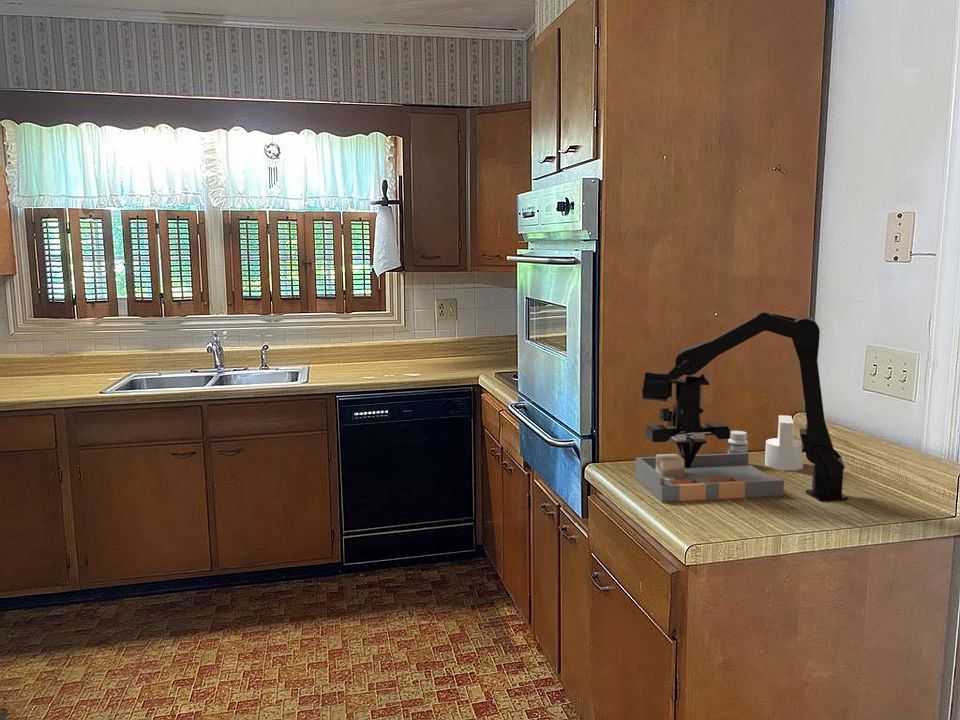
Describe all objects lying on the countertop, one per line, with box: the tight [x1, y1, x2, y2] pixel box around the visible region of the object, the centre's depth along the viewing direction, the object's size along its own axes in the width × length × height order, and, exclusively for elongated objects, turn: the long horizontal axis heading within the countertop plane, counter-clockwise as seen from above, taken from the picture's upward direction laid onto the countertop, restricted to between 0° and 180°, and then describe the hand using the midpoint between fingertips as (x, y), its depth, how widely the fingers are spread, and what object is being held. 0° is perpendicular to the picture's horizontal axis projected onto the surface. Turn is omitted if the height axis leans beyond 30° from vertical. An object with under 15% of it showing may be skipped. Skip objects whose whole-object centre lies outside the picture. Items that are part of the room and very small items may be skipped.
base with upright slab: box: [764, 414, 805, 471], centre depth 189 cm, size 9×9×12 cm
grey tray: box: [635, 452, 785, 503], centre depth 174 cm, size 18×28×5 cm, turn 97°
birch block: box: [655, 453, 684, 477], centre depth 176 cm, size 5×5×4 cm
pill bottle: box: [727, 430, 749, 453], centre depth 191 cm, size 5×5×8 cm
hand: (686, 467), depth 177 cm, fingers closed
